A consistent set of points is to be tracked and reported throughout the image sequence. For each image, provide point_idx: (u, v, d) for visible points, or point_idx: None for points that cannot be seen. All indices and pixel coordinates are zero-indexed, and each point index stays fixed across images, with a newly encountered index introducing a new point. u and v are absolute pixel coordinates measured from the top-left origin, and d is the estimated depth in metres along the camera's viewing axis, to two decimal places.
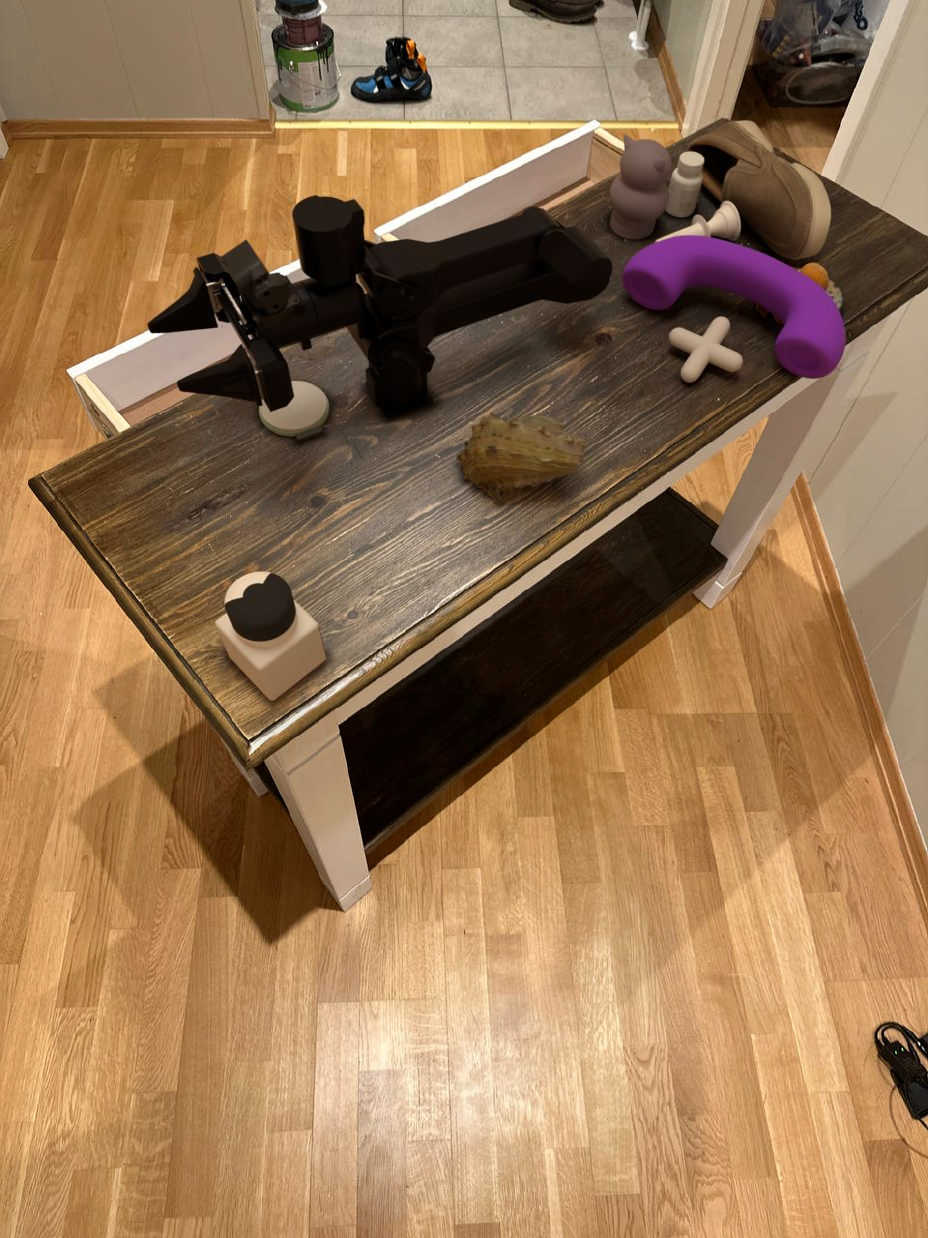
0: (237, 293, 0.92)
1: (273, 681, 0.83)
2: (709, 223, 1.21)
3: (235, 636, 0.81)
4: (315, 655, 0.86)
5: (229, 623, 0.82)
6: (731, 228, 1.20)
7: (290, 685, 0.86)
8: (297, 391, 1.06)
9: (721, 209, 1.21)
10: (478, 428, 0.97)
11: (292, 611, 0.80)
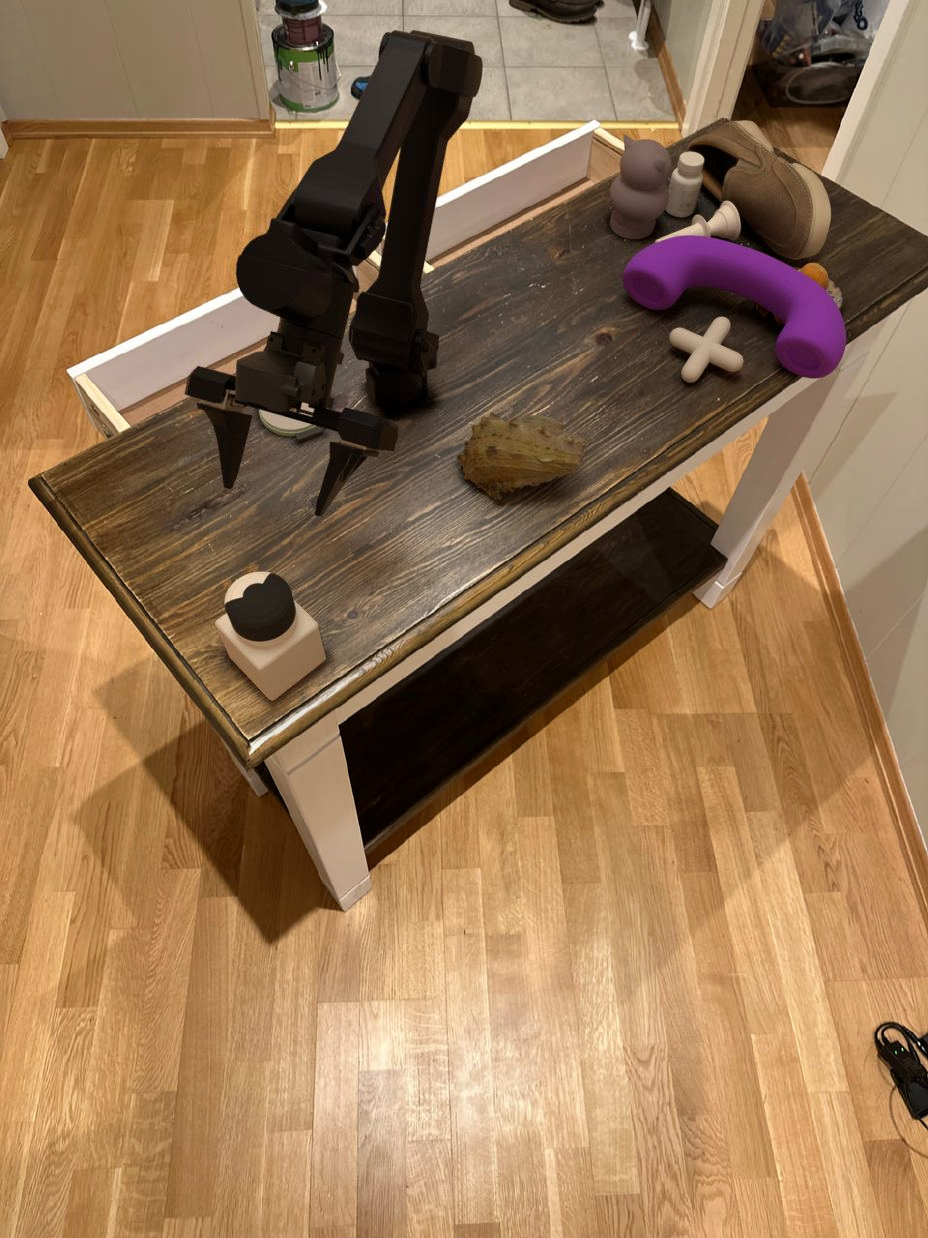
0: None
1: (273, 681, 0.83)
2: (709, 223, 1.21)
3: (235, 636, 0.81)
4: (315, 655, 0.86)
5: (229, 623, 0.82)
6: (731, 228, 1.20)
7: (290, 685, 0.86)
8: None
9: (721, 209, 1.21)
10: (478, 428, 0.97)
11: (292, 611, 0.80)
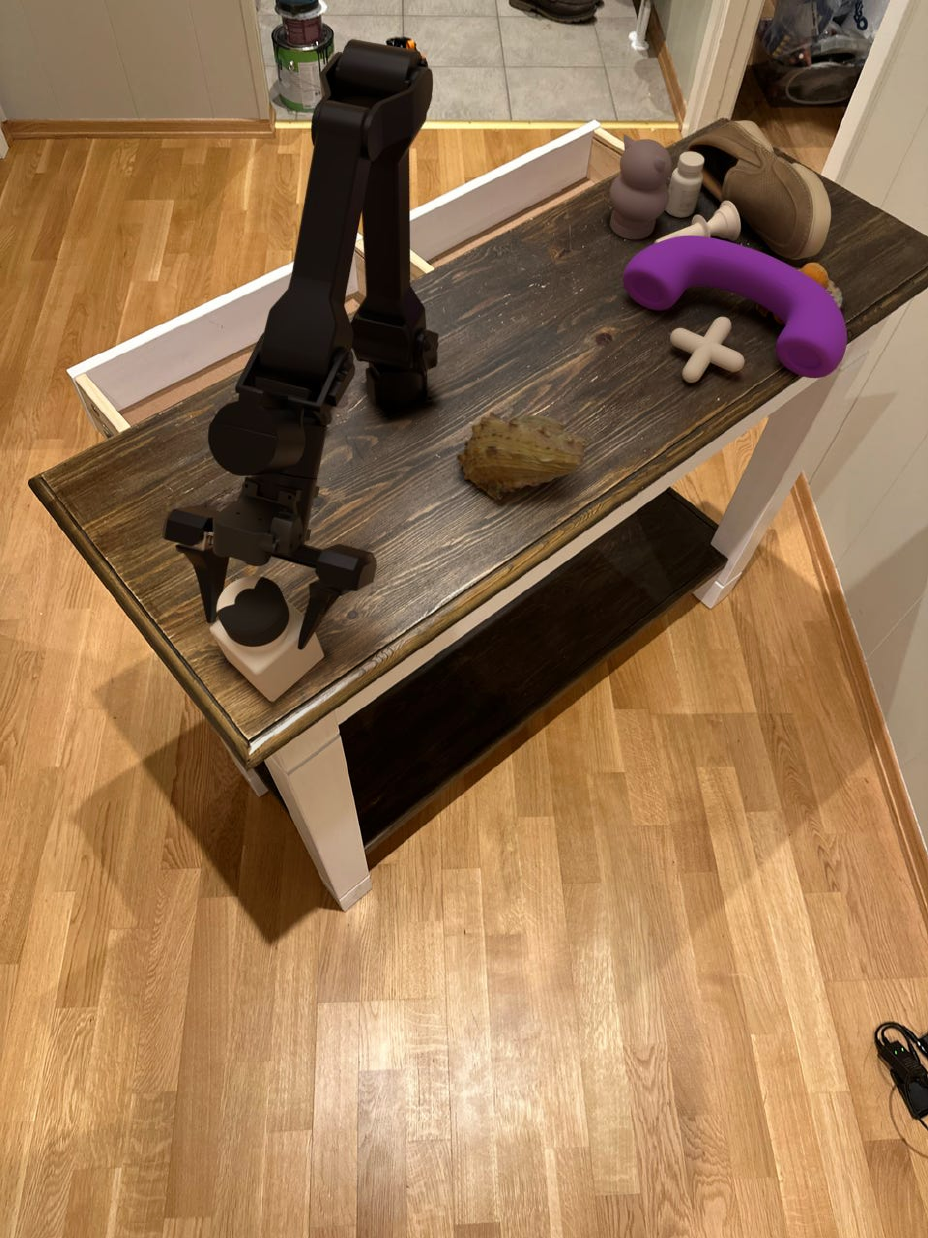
0: None
1: (271, 683, 0.83)
2: (709, 223, 1.21)
3: (230, 641, 0.81)
4: (313, 654, 0.86)
5: (223, 628, 0.82)
6: (731, 228, 1.20)
7: (289, 685, 0.86)
8: None
9: (721, 209, 1.21)
10: (478, 428, 0.97)
11: (285, 614, 0.79)
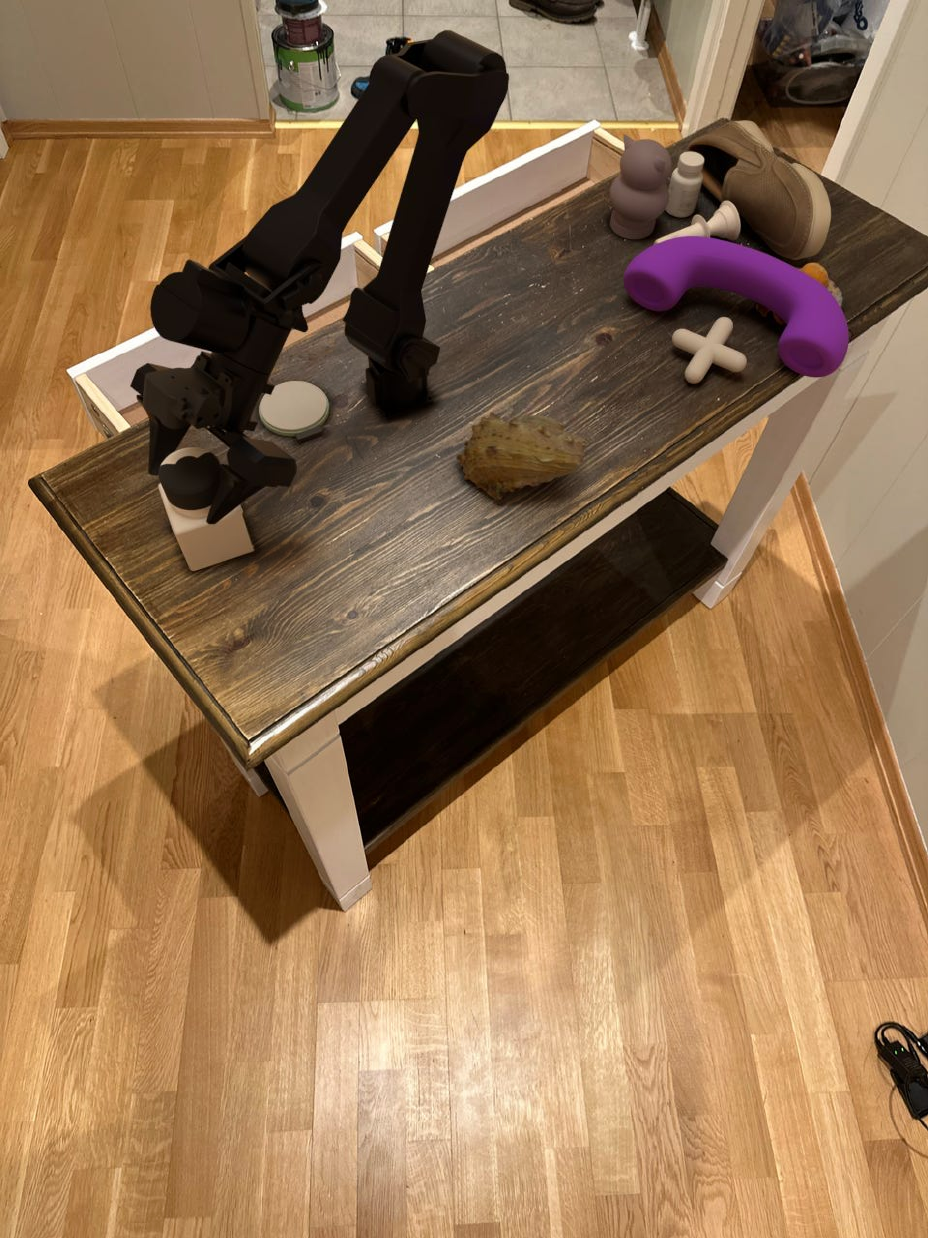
0: None
1: (191, 551, 0.91)
2: (709, 223, 1.21)
3: (168, 500, 0.89)
4: (240, 542, 0.93)
5: None
6: (731, 228, 1.20)
7: (212, 562, 0.93)
8: (297, 391, 1.06)
9: (721, 209, 1.21)
10: (478, 428, 0.97)
11: (216, 490, 0.87)
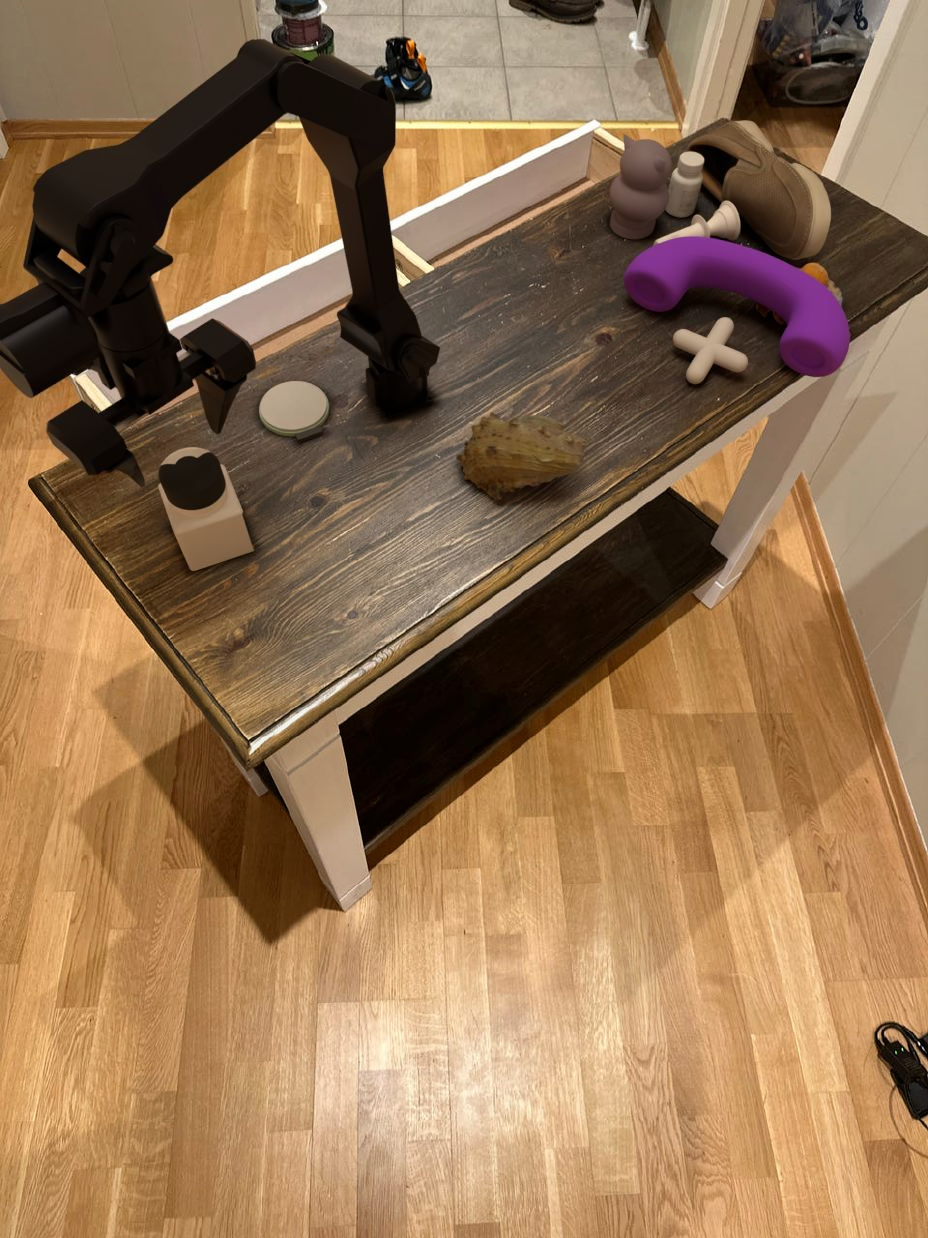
0: (198, 348, 0.78)
1: (191, 551, 0.91)
2: (709, 223, 1.21)
3: (168, 500, 0.89)
4: (240, 542, 0.93)
5: None
6: (731, 228, 1.20)
7: (212, 562, 0.93)
8: (297, 391, 1.06)
9: (721, 209, 1.21)
10: (478, 428, 0.97)
11: (216, 490, 0.87)
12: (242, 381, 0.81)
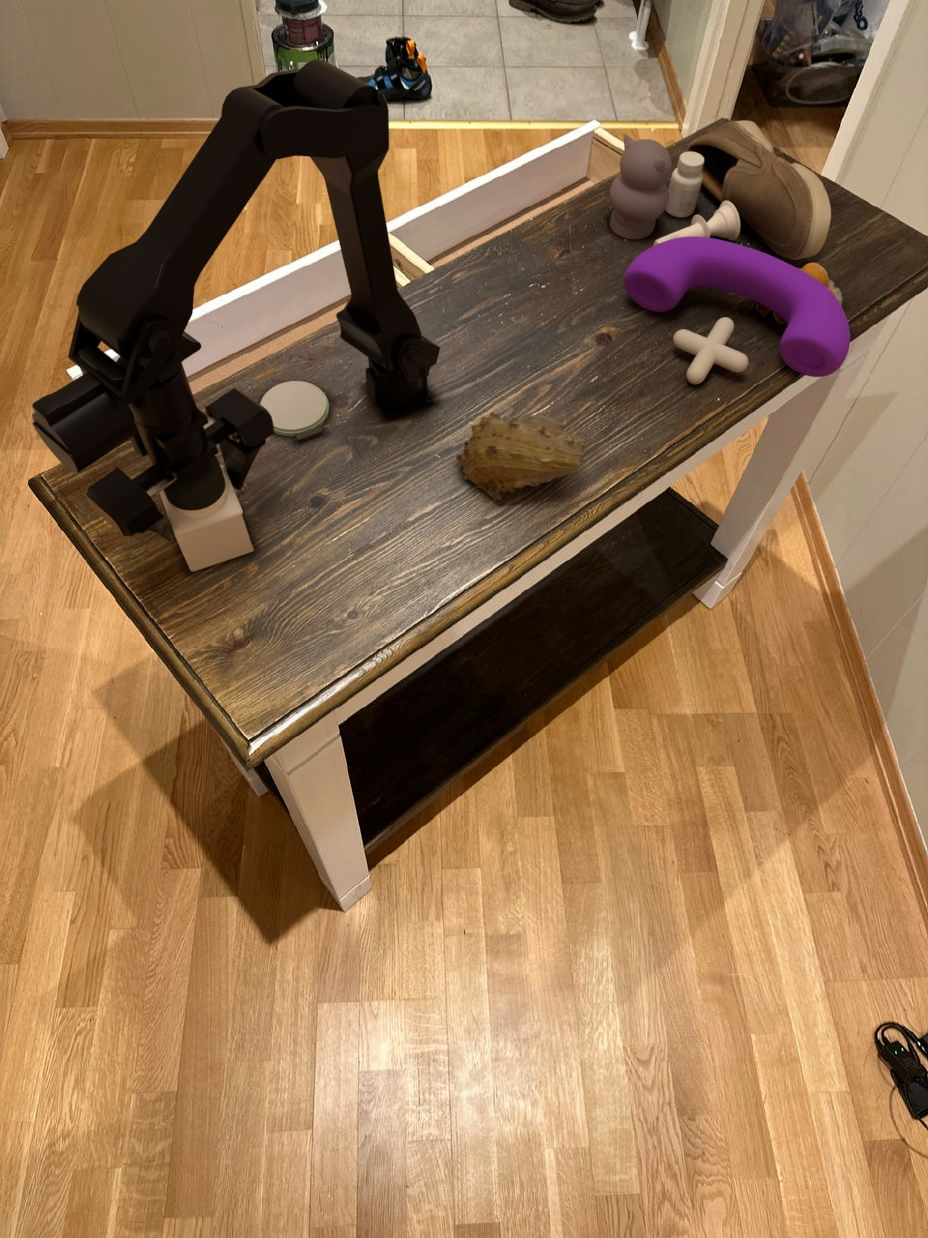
0: (222, 417, 0.86)
1: (191, 551, 0.91)
2: (709, 223, 1.21)
3: (168, 500, 0.89)
4: (240, 543, 0.93)
5: None
6: (731, 228, 1.20)
7: (212, 562, 0.93)
8: (297, 391, 1.06)
9: (721, 209, 1.21)
10: (478, 428, 0.97)
11: (216, 490, 0.87)
12: (262, 445, 0.88)
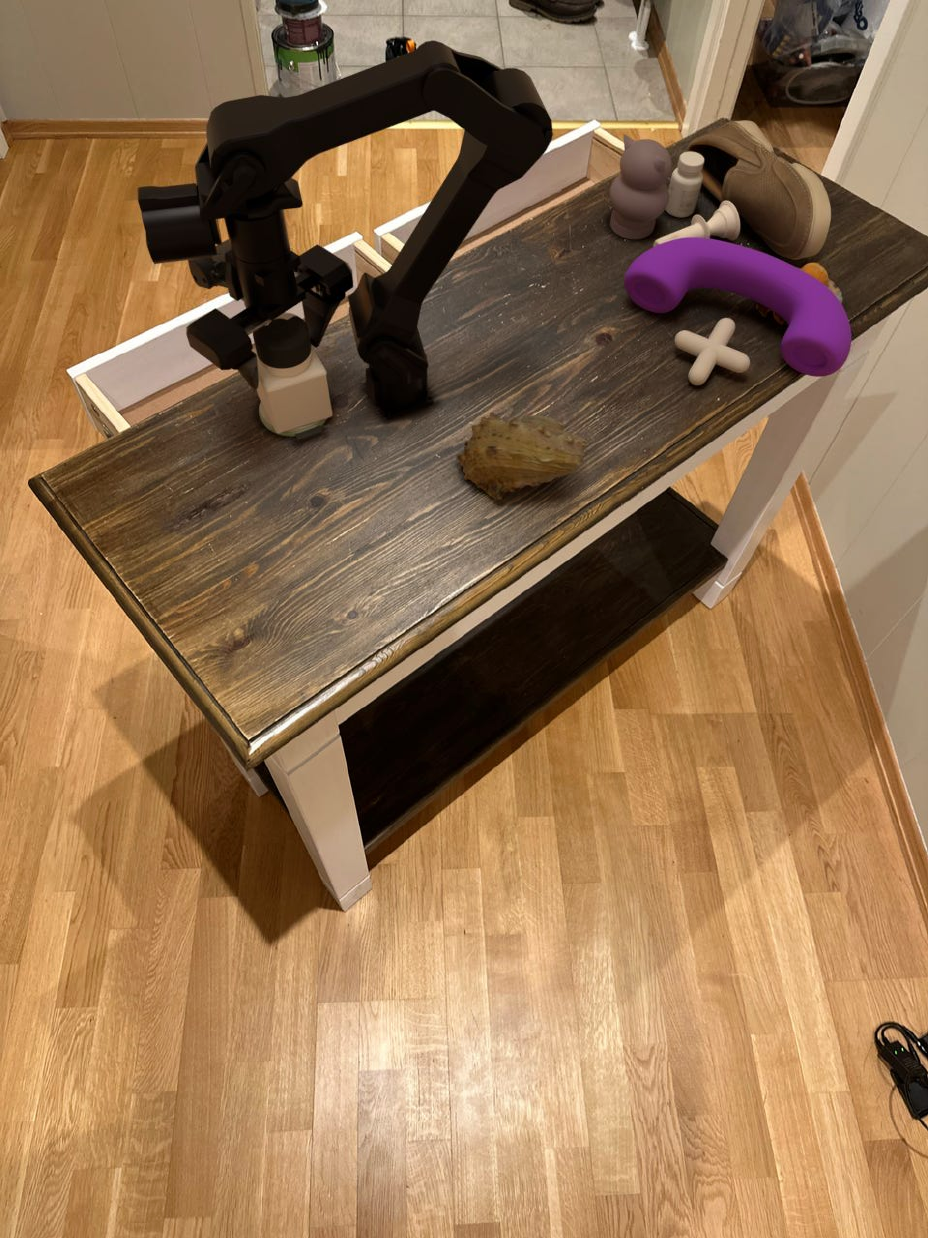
0: (307, 268, 0.93)
1: (279, 411, 1.00)
2: (708, 223, 1.21)
3: (258, 363, 0.98)
4: (322, 405, 1.02)
5: None
6: (730, 228, 1.20)
7: (295, 425, 1.02)
8: None
9: (720, 209, 1.21)
10: (478, 428, 0.97)
11: (305, 349, 0.96)
12: (342, 298, 0.96)
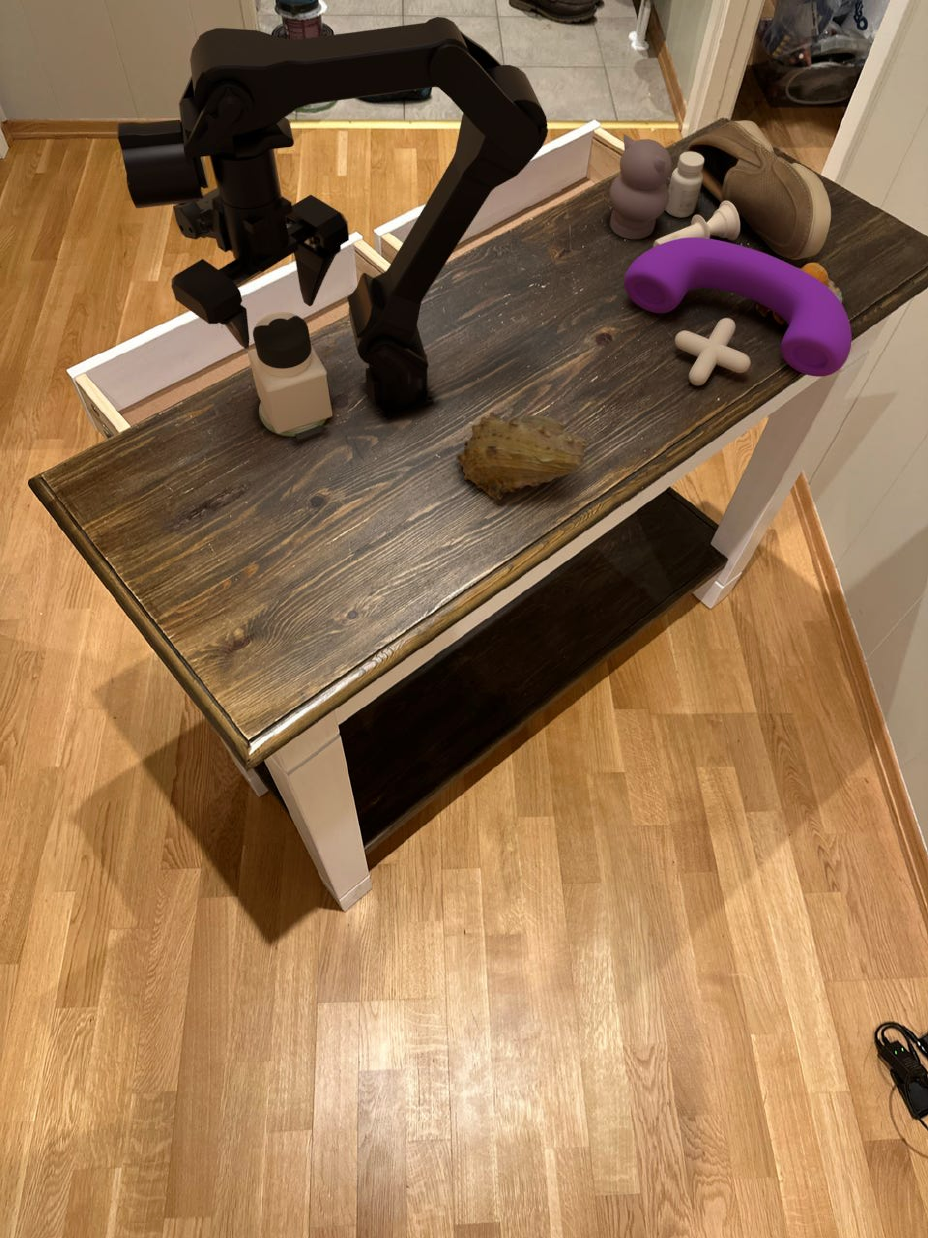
0: (300, 219, 0.88)
1: (279, 411, 1.00)
2: (708, 223, 1.21)
3: (258, 363, 0.98)
4: (322, 406, 1.02)
5: None
6: (730, 228, 1.20)
7: (295, 425, 1.02)
8: None
9: (720, 209, 1.21)
10: (478, 428, 0.97)
11: (305, 350, 0.96)
12: (337, 251, 0.91)
